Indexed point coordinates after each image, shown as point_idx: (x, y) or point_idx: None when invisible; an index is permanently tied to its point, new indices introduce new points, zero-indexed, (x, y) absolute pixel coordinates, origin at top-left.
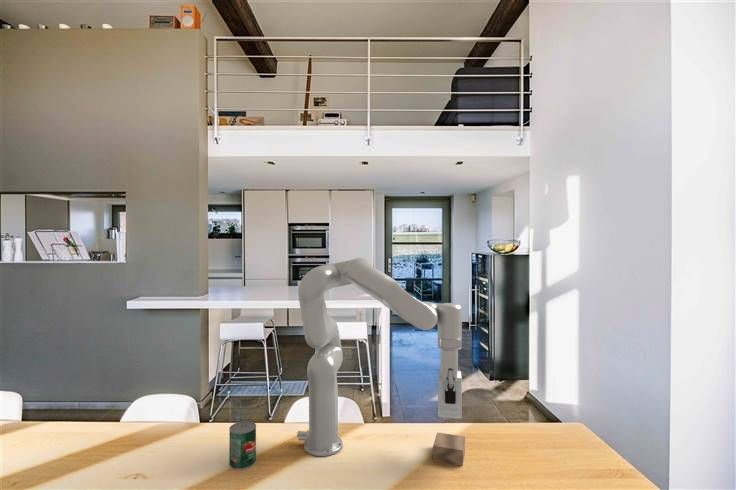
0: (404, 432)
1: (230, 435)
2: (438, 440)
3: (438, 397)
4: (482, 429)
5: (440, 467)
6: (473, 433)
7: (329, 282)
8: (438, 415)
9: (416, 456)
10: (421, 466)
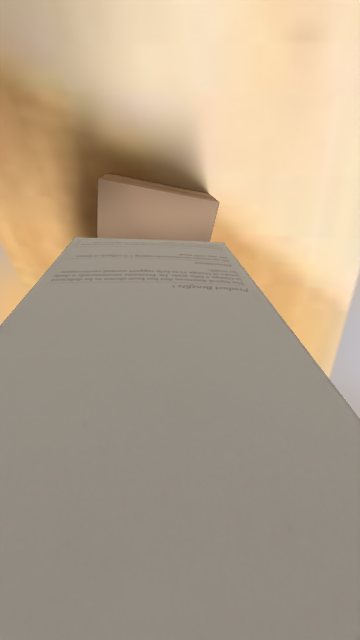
0: (337, 17)
1: None
2: (148, 205)
3: (16, 307)
4: (308, 333)
5: (73, 200)
6: (289, 310)
7: None
8: (71, 242)
9: (122, 94)
10: (53, 119)
